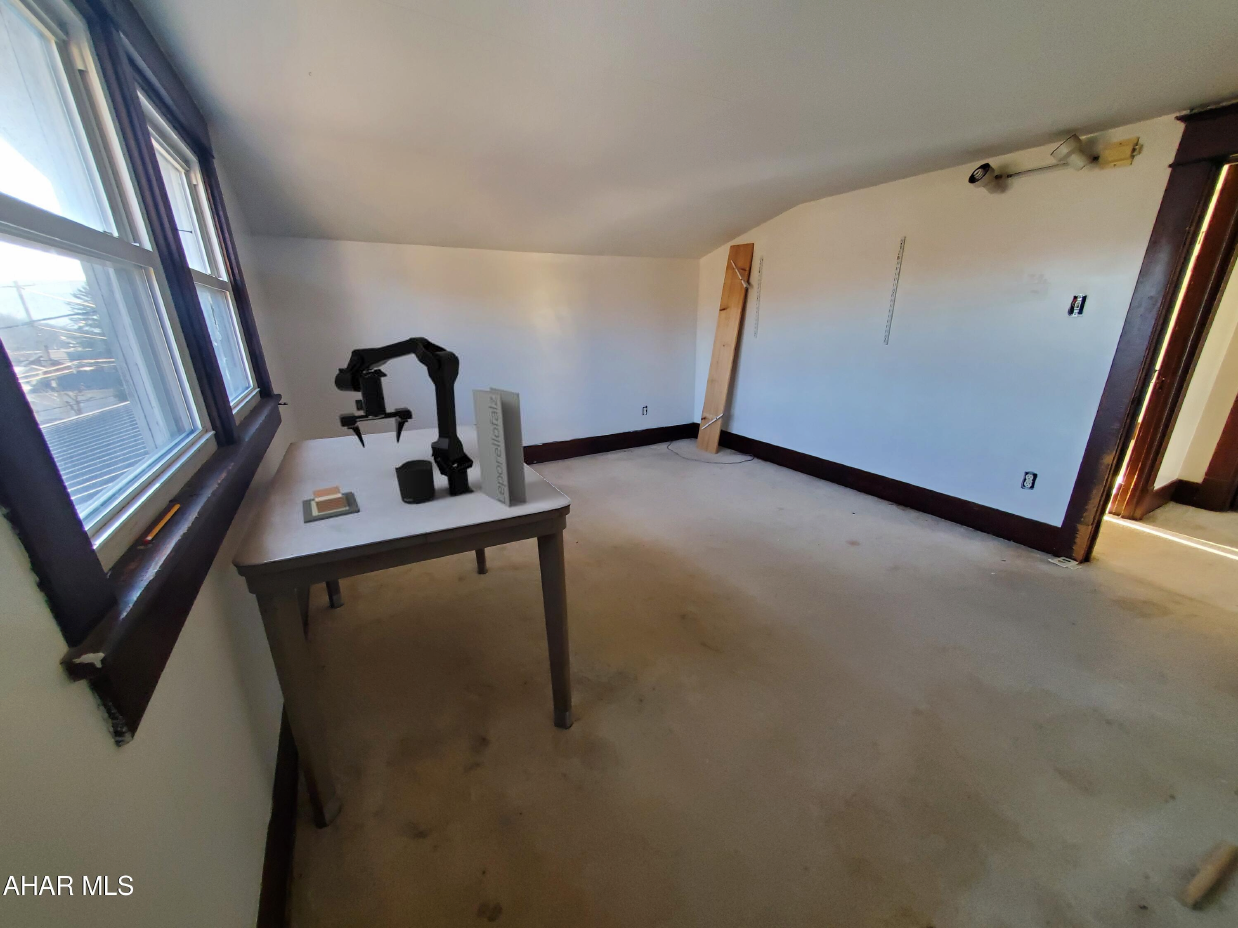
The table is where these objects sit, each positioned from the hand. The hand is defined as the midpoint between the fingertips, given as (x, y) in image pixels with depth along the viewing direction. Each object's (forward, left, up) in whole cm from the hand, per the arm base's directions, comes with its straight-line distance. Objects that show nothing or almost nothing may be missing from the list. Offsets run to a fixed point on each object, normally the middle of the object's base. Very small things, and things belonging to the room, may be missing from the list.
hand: (381, 444), depth 137 cm
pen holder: (-19, -5, -12) cm, 23 cm away
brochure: (-32, -25, -12) cm, 42 cm away
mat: (-12, +16, -12) cm, 23 cm away
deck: (-12, +16, -11) cm, 23 cm away
